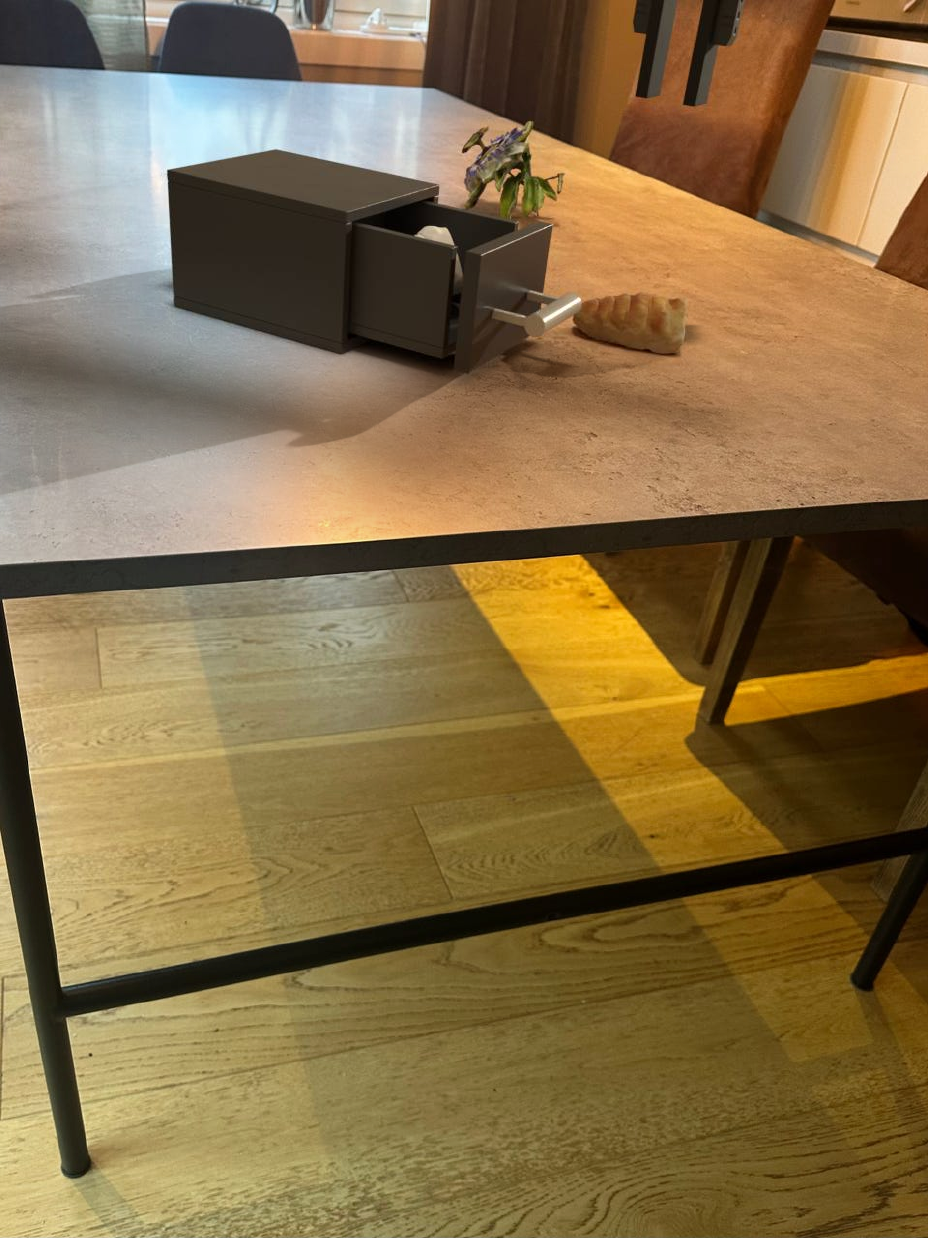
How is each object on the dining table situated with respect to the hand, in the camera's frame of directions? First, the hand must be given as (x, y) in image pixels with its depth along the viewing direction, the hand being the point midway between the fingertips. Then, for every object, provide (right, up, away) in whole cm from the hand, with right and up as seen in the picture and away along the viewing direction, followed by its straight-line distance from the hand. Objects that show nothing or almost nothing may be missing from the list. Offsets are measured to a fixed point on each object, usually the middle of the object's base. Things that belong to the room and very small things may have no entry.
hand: (671, 98), depth 66 cm
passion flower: (-8, +14, +55) cm, 58 cm away
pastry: (+1, -9, +22) cm, 24 cm away
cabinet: (-26, -7, +20) cm, 33 cm away
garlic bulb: (-16, -9, +15) cm, 23 cm away
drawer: (-14, -11, +15) cm, 23 cm away
